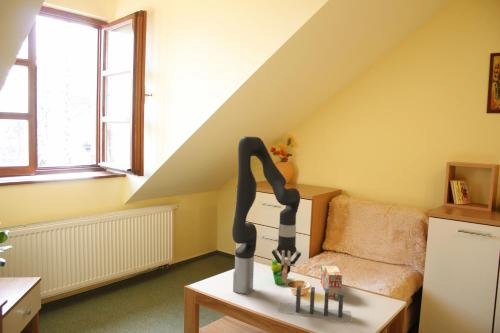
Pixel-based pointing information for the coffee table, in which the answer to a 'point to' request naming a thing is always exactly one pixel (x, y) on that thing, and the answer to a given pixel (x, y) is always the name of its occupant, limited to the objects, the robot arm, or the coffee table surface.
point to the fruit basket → (277, 272)
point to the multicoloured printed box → (331, 280)
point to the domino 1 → (285, 272)
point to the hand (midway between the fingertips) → (285, 272)
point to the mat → (317, 312)
